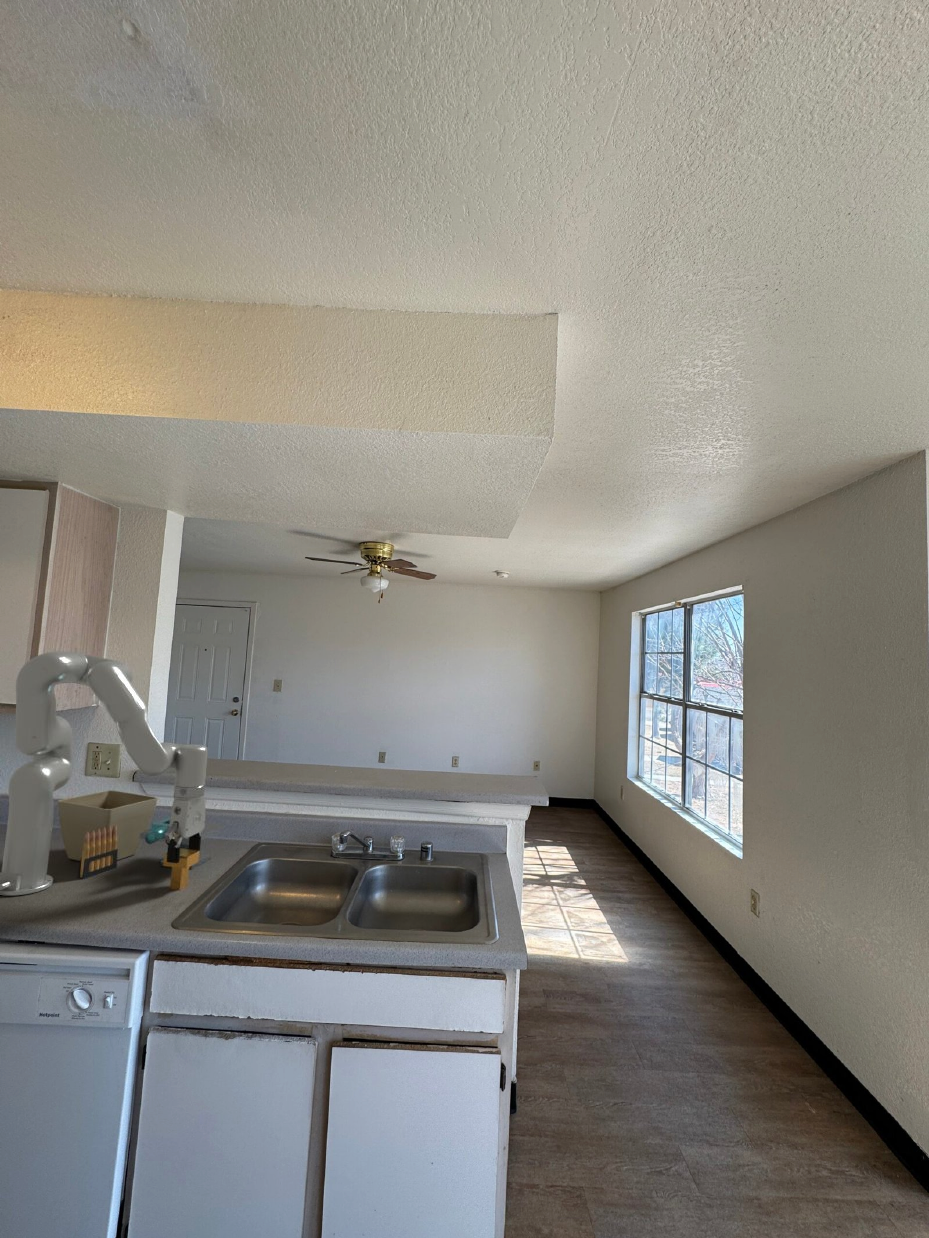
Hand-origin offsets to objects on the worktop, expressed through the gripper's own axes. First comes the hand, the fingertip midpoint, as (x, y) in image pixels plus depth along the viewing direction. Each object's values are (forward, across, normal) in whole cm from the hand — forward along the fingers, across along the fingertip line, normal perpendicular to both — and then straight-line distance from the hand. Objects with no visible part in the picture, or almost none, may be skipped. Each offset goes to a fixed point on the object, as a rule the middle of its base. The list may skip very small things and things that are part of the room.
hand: (183, 856), depth 162 cm
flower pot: (+8, +14, +33) cm, 37 cm away
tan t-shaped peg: (+8, 0, +1) cm, 8 cm away
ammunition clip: (+8, +2, +26) cm, 27 cm away
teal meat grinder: (+8, +11, +10) cm, 17 cm away
